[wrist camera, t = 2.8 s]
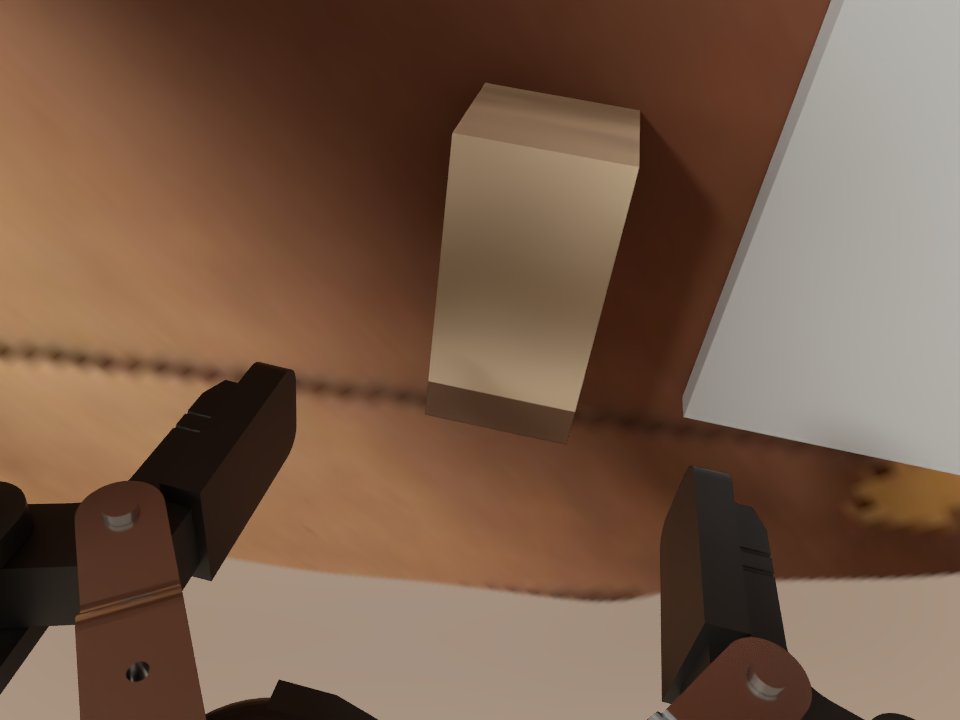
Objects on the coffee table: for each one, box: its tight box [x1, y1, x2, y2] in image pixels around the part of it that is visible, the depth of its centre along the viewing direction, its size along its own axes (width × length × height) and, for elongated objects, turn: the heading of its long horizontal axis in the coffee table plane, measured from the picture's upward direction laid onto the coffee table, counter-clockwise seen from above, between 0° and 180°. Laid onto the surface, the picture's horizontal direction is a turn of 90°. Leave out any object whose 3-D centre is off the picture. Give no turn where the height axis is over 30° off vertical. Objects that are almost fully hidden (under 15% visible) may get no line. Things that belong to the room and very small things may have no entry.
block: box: [425, 83, 640, 445], centre depth 19 cm, size 8×4×4 cm, turn 173°
